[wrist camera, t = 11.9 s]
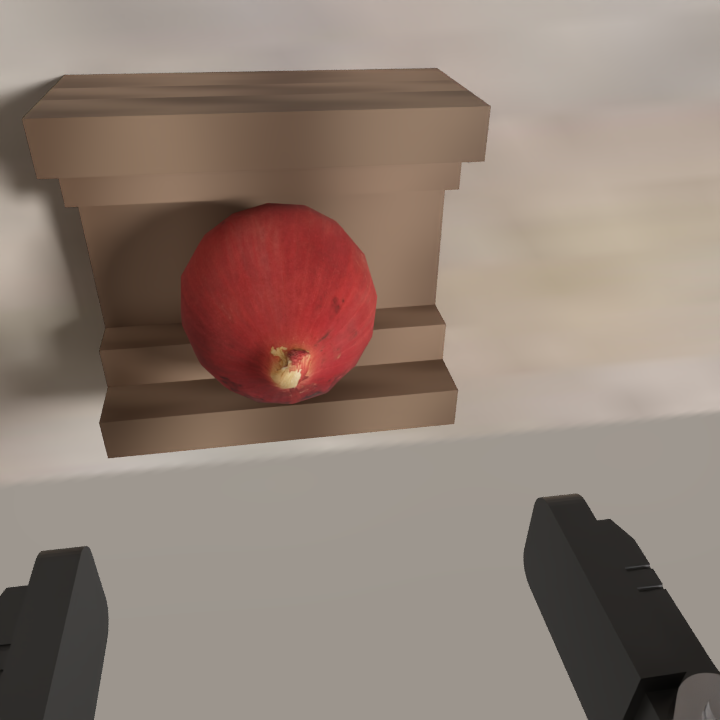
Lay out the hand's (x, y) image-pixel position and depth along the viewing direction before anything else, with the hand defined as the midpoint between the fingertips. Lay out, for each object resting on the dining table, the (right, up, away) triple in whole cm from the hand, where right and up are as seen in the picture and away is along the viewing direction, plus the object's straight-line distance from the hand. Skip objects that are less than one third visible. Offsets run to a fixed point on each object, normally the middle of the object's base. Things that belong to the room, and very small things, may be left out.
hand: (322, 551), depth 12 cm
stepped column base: (-3, +8, +13) cm, 15 cm away
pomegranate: (-2, +7, +11) cm, 14 cm away
